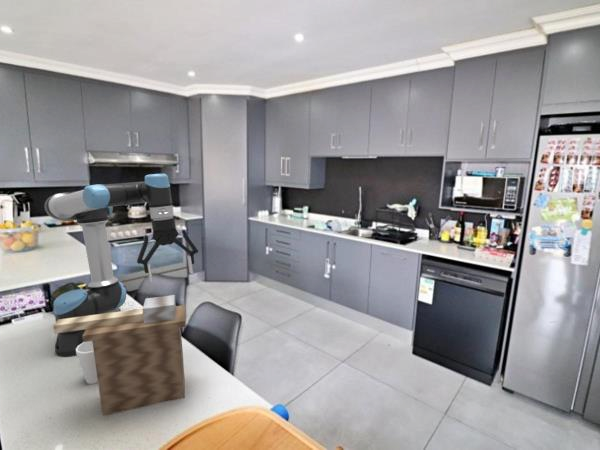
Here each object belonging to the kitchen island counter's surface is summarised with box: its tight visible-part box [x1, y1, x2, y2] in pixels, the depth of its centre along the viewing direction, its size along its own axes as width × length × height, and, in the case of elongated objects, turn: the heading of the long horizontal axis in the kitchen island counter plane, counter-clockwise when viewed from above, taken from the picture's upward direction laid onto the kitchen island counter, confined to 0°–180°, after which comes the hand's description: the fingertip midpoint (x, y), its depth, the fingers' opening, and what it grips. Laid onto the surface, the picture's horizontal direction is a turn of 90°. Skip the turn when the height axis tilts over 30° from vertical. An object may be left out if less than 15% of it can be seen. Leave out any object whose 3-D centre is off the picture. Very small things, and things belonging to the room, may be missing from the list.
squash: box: [50, 281, 82, 311], centre depth 171 cm, size 14×15×15 cm
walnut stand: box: [82, 304, 187, 416], centre depth 107 cm, size 28×12×28 cm, turn 109°
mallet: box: [53, 294, 177, 335], centre depth 102 cm, size 33×8×5 cm, turn 109°
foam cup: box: [76, 341, 98, 385], centre depth 117 cm, size 10×9×13 cm
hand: (171, 277), depth 117 cm, fingers open, 13 cm apart
